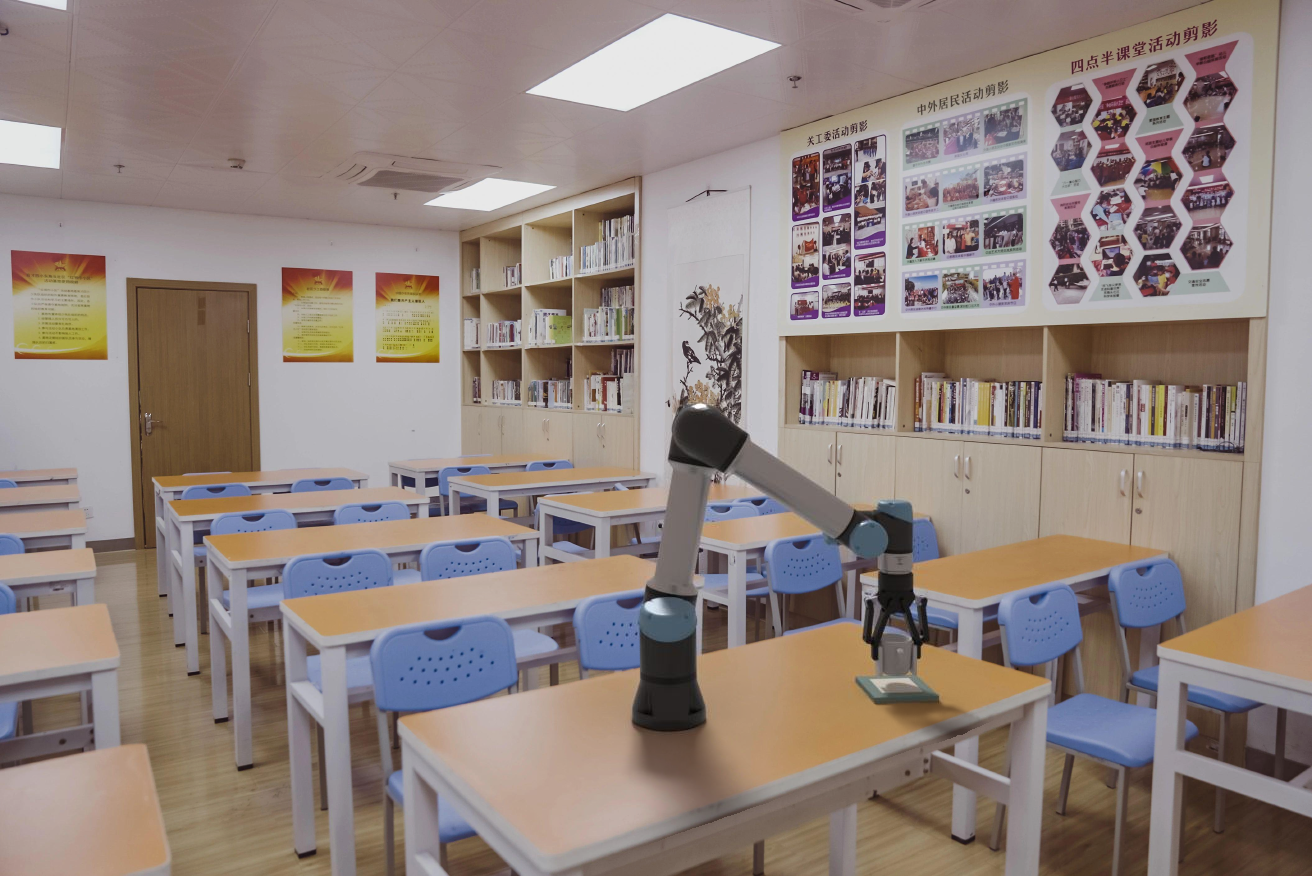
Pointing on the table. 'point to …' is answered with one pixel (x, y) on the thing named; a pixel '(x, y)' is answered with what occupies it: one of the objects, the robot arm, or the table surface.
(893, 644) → the cup
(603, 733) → the table surface
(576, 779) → the table surface
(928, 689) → the board
